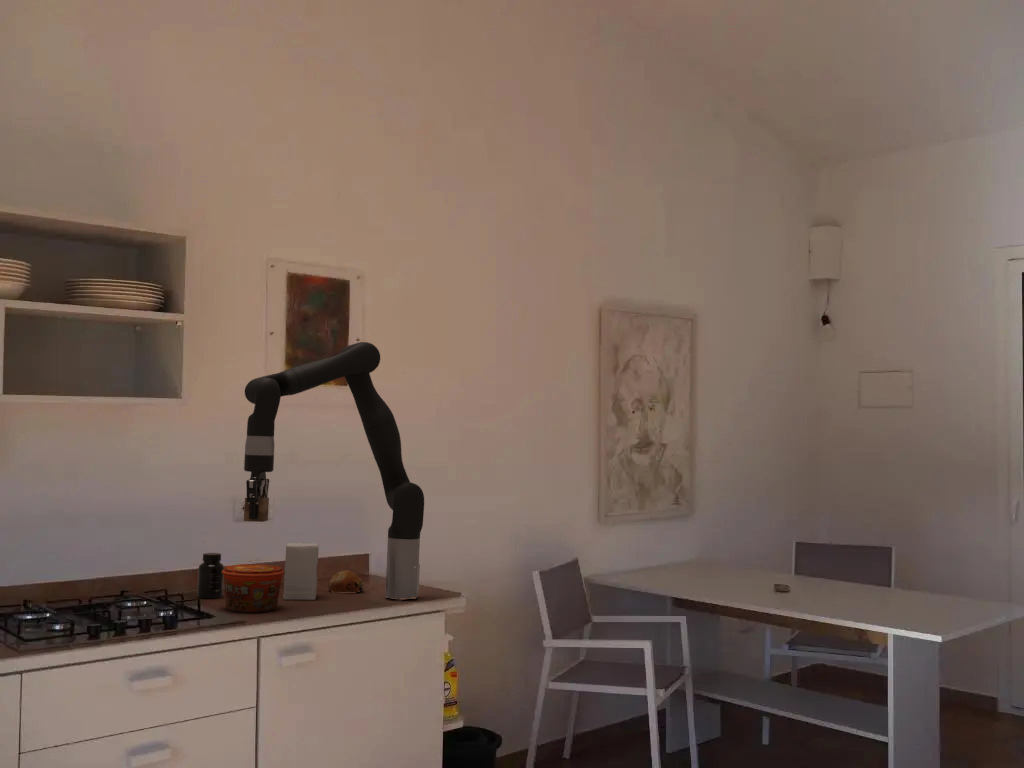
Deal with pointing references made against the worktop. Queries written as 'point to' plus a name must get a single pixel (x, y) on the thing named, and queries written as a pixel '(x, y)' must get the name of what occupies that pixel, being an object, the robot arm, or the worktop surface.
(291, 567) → the supplement box
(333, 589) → the bread roll
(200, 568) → the supplement bottle
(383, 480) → the robot arm
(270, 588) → the food container
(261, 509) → the walnut block
